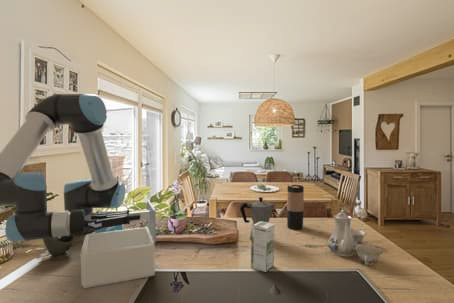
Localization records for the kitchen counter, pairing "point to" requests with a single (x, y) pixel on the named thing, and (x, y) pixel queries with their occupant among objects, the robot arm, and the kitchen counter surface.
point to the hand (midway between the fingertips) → (149, 214)
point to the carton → (117, 257)
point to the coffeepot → (258, 212)
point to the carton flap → (151, 220)
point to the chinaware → (351, 241)
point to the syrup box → (262, 246)
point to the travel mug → (295, 207)
